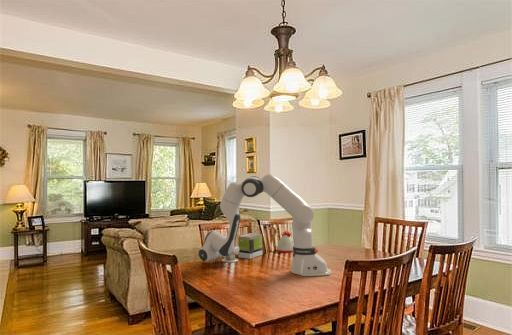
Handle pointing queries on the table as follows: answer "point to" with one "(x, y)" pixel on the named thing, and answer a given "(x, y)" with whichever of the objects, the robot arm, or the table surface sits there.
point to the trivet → (230, 260)
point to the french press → (230, 257)
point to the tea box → (250, 245)
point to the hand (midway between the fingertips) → (230, 246)
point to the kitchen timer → (285, 243)
